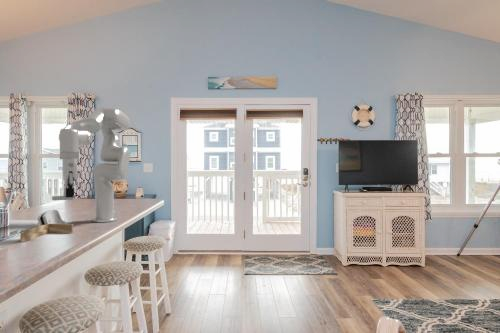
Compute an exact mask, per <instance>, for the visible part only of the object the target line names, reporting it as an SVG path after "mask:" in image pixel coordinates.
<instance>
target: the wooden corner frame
mask: <svg viewBox="0 0 500 333" xmlns="http://www.w3.org/2000/svg"><path fill="white" fill-rule="evenodd" d="M50 233H51V234H73V233H74V224H73V223H66V224H45V225H42V226H40V225H38V226H37V227H33V228H29V229H26V230H24V231H21V232H20V243H25V242H26V241H29V240H33V239H36V238H39V237H41V236H43V235H47V234H50Z"/></svg>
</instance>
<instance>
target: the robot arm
mask: <svg viewBox="0 0 500 333" xmlns="http://www.w3.org/2000/svg"><path fill="white" fill-rule="evenodd" d="M130 127H131V120H130V118H129V116H128V115H127V114H125V112H123V111H122V110H120V109H118V108H115V107H99V108H95V110H94V111H92V112H91V113H90V114H89V115H88V116H87V117H85V118H82V119H79V120H78V121H74V122H71V123H69V124H67V125H66V126H65V127H63V128H61V129H60V131H59V134H58V140H59V160H62V180H63V181H64V182H65V181H66V187H67V188H66V197H73V198H74V197H75V186H74V185H75V184H74V183H75V182H78V164H77V162H78V160H79V159H80V158H79V156H80V155H79V149H80V148H79V147H86V146H89V145H91V144H92V142H93V139H94V138H93V135H92V134H95V133H98V132H99V131H100V130H101V133H102V136H103V140H102V145H101V150H100V155H99V158H100V160H101V161H102V162H104V163H98V164H96V165H95V166H93V170H92V174H93V178H94V179H93V180H94V217H92V219H91V221H92V222H93V223H107V222H108V223H110V222H114V221H116V220H118V219H117V217H116V216H115V214H116V210H114V209H115V204H114V203H115V197H114V196H115V190H114V186H113V183H111V181H112V182H122V181H124V180H126V178H127V175H128V170H129V165H130V159H131V152H130V148H128V147H127V146H123V145H120V138H119V136H118V134H116V132H115V131H128V130H129V129H130ZM63 190H64V191H63V192H64V194H63V196H65V187H64V189H63Z"/></svg>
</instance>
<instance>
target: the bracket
mask: <svg viewBox="0 0 500 333" xmlns="http://www.w3.org/2000/svg"><path fill="white" fill-rule="evenodd" d="M64 188H65V196H64V195H52V196H51V200H52V201H69V200H74V197H66V188H67V187H66V181H64Z"/></svg>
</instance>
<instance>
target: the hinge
mask: <svg viewBox="0 0 500 333" xmlns="http://www.w3.org/2000/svg"><path fill="white" fill-rule="evenodd" d="M37 222H38V226H42V225H45V224H67V223H66V221H65V220H63V219H62V217H61V215H60V212H59V211H58V210H56V209H50V210H47V211H44V212H42V213H41V214H39V216H38V217H37Z"/></svg>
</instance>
